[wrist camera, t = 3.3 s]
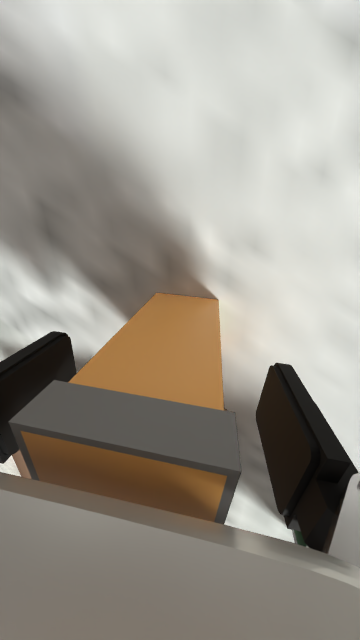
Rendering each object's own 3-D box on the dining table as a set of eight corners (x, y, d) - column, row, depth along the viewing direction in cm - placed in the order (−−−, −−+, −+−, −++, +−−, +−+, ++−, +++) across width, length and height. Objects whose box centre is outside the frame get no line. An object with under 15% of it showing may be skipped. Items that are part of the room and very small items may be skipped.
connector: (222, 297, 12) (241, 471, 3) (212, 355, 14) (207, 573, 5) (153, 289, 13) (8, 421, 4) (153, 347, 15) (53, 529, 6)
